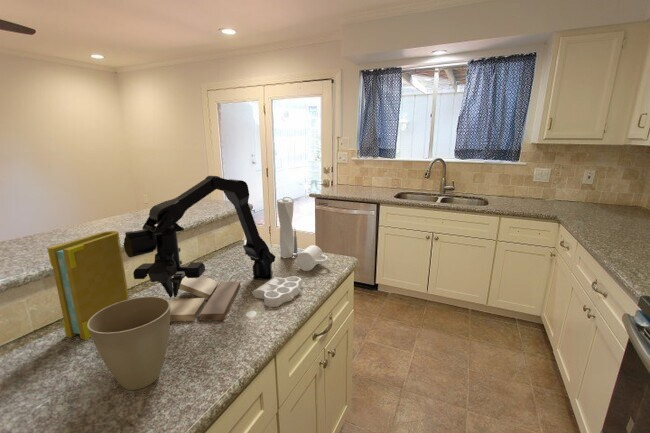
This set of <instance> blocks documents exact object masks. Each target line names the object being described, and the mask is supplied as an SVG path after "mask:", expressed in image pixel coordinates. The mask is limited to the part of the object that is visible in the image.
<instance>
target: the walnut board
mask: <svg viewBox="0 0 650 433" xmlns="http://www.w3.org/2000/svg"><path fill="white" fill-rule="evenodd" d="M240 289H241V281H239V280H238V281H236V280H235V281H220V282H219V283H218V285H217V287H216V289H215V290H214V292H213V293H212V295H211V297H210V298H209V300H207V301H206V304H205V306H204V307H203V309H202V310H201V312H200V313H199V315H198V317H197V320H200V321H219V320H225V319H226V317H227V315H228V312H229V311H230V308H232V307H231V306H232V304H233V302H234V300H235V298H236V296H237V294H238V292H239V290H240Z"/></svg>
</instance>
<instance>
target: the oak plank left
mask: <svg viewBox="0 0 650 433" xmlns="http://www.w3.org/2000/svg"><path fill="white" fill-rule="evenodd" d="M206 300H207V299H206V298H202V297H191V298H189V297H188V298H187V297H185V298H170V299H169V300H168V301H169V302H170V322H184V321H191V322H192V321H196V320H197V319H198V315H199V313H200V312H201V310H202V309H203V307H204V306H205V304H206V303H207V301H206Z"/></svg>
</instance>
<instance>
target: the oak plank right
mask: <svg viewBox="0 0 650 433" xmlns="http://www.w3.org/2000/svg"><path fill="white" fill-rule="evenodd" d="M219 284H220V282H219V281H217V280H216V279H215V280H214V279H212V278H211V277H207V276H205V275H203V274H202V275H201V276H200V277H198V278H187V277H186V276H185V277H184V278H183V279H182V281H181V284H180V287H179V290H181V291H183V292H186V293H189V294H192V295H193V296H194V295H195V296H197V297H198V298H206V300H207V301H208V300H209V298H210V297H211V295H212V294H213V292H214V291H215V289H216V288H217V286H218V285H219Z"/></svg>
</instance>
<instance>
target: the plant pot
mask: <svg viewBox="0 0 650 433" xmlns="http://www.w3.org/2000/svg"><path fill="white" fill-rule="evenodd" d="M170 322H171V321H170V302H169V300H168V299H167V298H164V297H161V296H154V295H153V296H151V295H150V296H139V297H134V298H133V297H132V298H129V299H128V300H124V301H121V302H118V303H115V304H113V305H110V306H108V307H106V308H104V309H102V310H100V311H99V312H97V313H96V314H94V315H93V316H92V317H91V318H90V319H89V321H88V323H87V327H88V330H89V332H90V335H91V337H90V338H91V339H92V342H93V344H94V346H95V348H96V351H97V352H98V354H99V356H100V358H101V359H102V362H103V363H104V364H105V366H106V368H107V369H108V371H109V372H110V373H111V375H112V376H113V377H114V379H115V380H116V381H117V382H118V383H119V384H120V386H121V387H122V388H123V389H124V390H127V391H137V390H141V389H143V388H146V387H149V386H150V385H152V384H153V383H155V381H157V379H158V378H159V377H160V375H161V372H162V370H163V365H164V361H165V358H166V353H167V349H168V342H169V337H170V336H169V334H170Z"/></svg>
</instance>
